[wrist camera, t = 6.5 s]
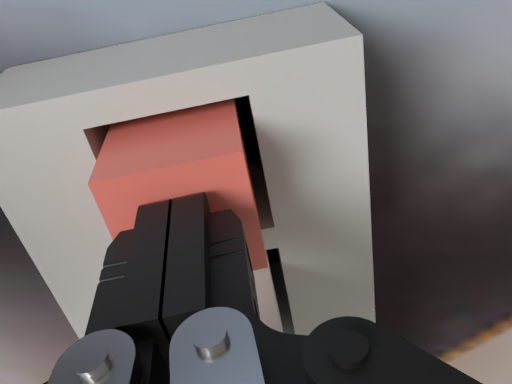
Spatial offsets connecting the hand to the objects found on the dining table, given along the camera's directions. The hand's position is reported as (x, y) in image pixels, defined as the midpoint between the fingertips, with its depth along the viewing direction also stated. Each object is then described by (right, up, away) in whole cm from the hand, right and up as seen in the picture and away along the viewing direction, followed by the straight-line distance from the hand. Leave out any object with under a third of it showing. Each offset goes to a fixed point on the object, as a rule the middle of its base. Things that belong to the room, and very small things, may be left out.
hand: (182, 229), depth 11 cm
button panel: (0, -1, +8) cm, 8 cm away
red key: (0, +2, +4) cm, 4 cm away
